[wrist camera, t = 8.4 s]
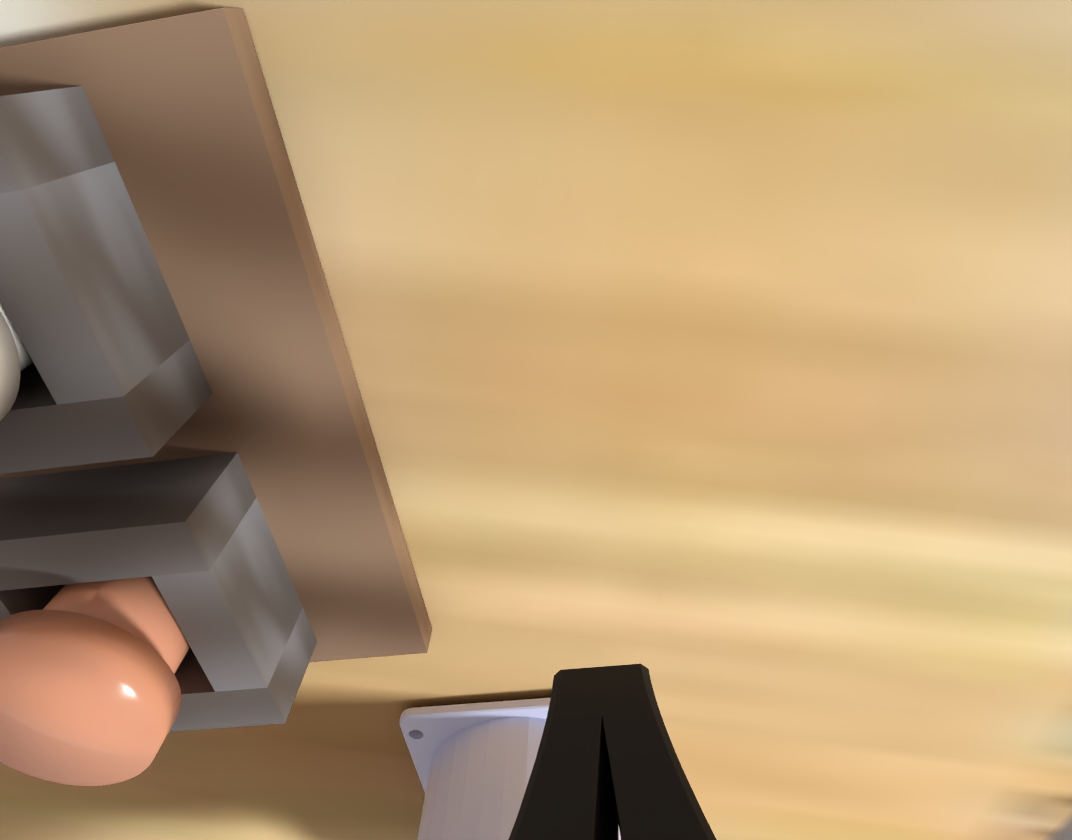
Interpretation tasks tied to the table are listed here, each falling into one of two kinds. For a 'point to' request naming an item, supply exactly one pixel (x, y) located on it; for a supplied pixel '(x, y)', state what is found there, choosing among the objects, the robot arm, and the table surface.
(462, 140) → the table surface
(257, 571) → the board
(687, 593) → the table surface
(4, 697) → the rust plunger
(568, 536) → the table surface
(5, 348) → the pale plunger
